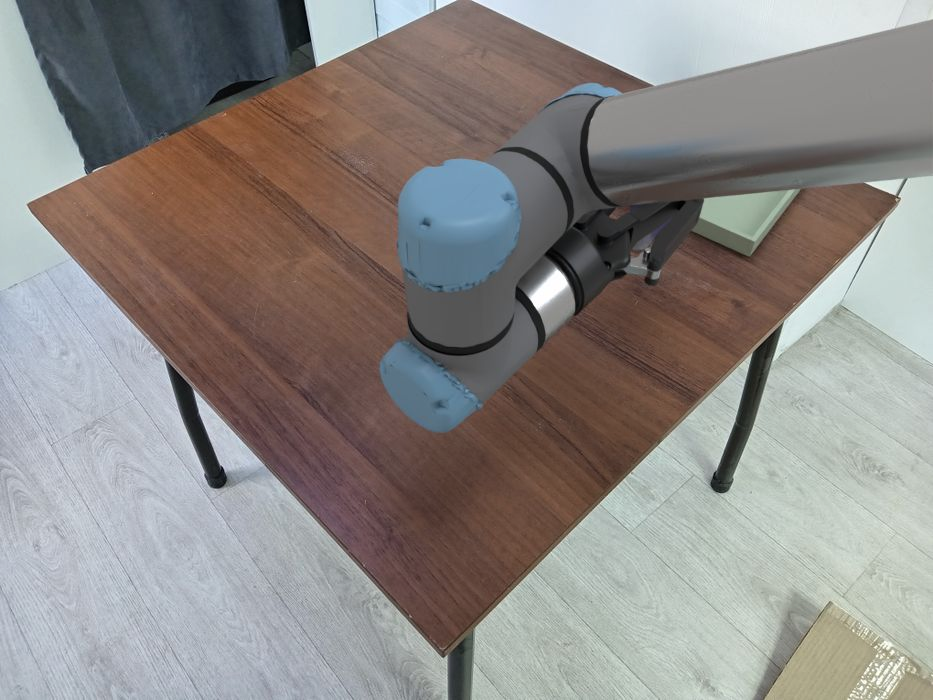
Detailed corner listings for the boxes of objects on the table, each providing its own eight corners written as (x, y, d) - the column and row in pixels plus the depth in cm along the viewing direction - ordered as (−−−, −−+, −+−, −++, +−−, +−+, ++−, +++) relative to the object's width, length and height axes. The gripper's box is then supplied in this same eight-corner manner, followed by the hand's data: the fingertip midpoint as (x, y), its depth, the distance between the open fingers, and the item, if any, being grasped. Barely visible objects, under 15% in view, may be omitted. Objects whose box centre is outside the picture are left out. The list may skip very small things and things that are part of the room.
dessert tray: (802, 187, 97) (808, 172, 95) (749, 257, 89) (755, 241, 88) (691, 143, 103) (695, 128, 101) (633, 205, 95) (636, 189, 94)
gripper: (470, 270, 69) (622, 147, 80) (617, 363, 62) (762, 214, 73) (468, 205, 63) (633, 81, 74) (630, 300, 57) (786, 148, 67)
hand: (697, 148), depth 74 cm, fingers closed on flask, 3 cm apart
